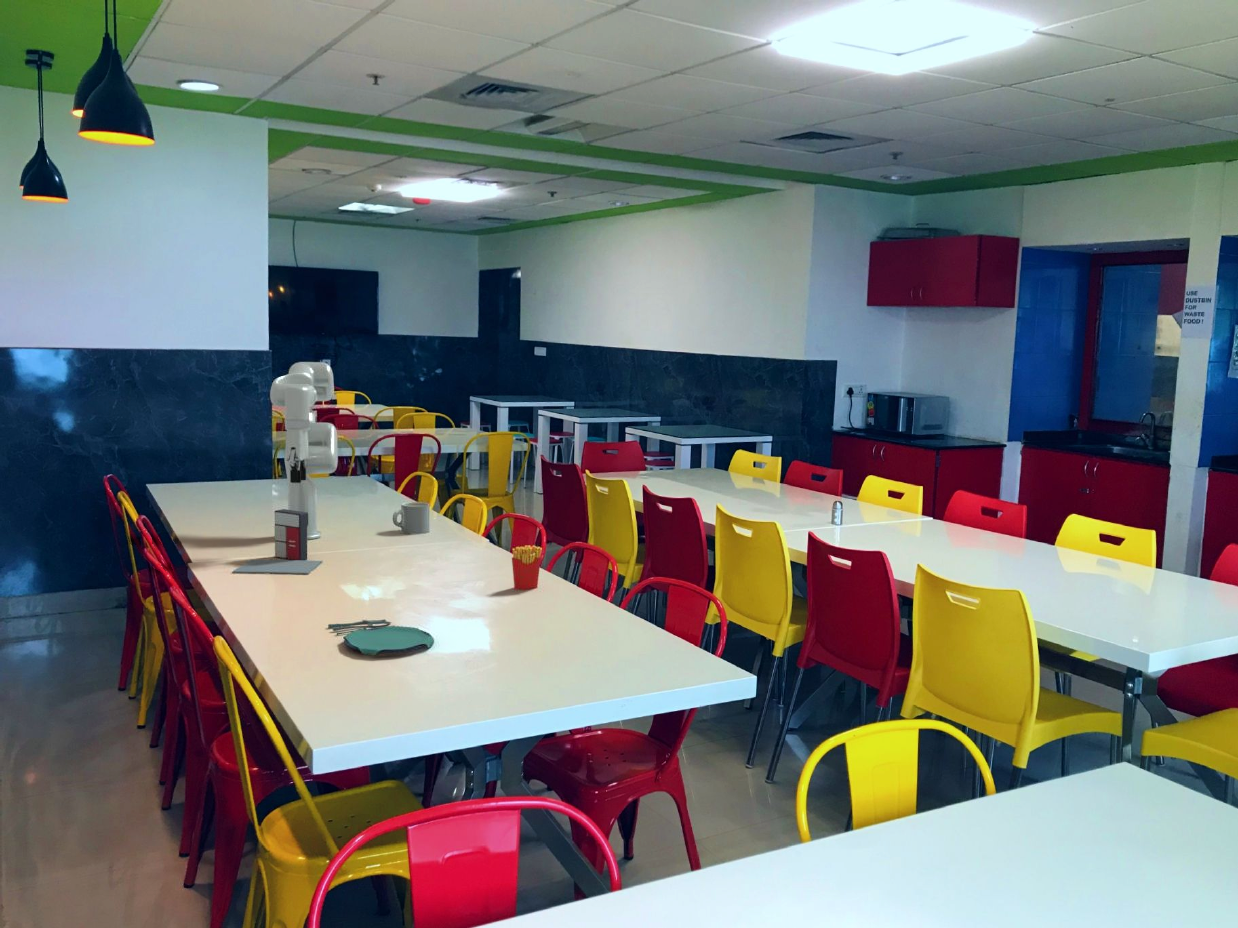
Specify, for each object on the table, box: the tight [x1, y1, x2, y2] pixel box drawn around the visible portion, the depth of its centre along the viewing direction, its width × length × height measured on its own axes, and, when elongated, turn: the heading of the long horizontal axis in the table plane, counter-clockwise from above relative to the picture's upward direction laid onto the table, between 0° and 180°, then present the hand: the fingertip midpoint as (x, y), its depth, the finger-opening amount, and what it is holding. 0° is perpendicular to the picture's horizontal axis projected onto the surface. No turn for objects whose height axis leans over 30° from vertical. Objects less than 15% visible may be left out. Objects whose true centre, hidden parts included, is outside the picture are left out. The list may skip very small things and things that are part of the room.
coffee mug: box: [392, 501, 430, 534], centre depth 364 cm, size 13×10×10 cm
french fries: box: [511, 544, 543, 591], centre depth 288 cm, size 8×4×12 cm, turn 111°
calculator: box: [274, 508, 308, 561], centre depth 317 cm, size 11×4×15 cm, turn 62°
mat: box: [232, 558, 323, 575], centre depth 305 cm, size 16×22×1 cm
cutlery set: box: [327, 619, 435, 656], centre depth 238 cm, size 20×30×2 cm, turn 33°
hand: (298, 480), depth 324 cm, fingers open, 4 cm apart
